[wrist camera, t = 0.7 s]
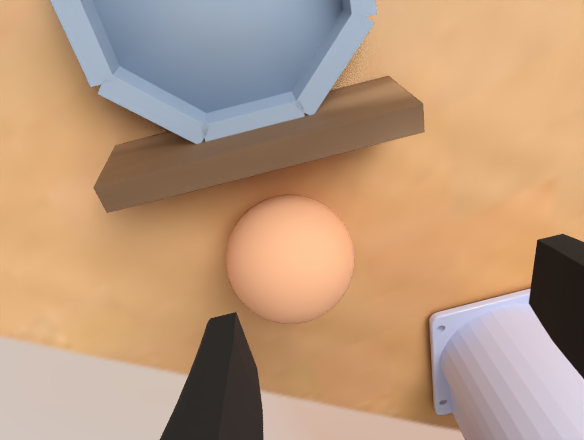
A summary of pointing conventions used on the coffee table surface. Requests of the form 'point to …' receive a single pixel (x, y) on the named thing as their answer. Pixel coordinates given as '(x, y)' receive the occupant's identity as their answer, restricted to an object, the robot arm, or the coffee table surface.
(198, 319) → the coffee table surface
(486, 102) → the coffee table surface
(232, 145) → the wooden block
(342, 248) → the ball
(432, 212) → the coffee table surface
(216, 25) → the dish
